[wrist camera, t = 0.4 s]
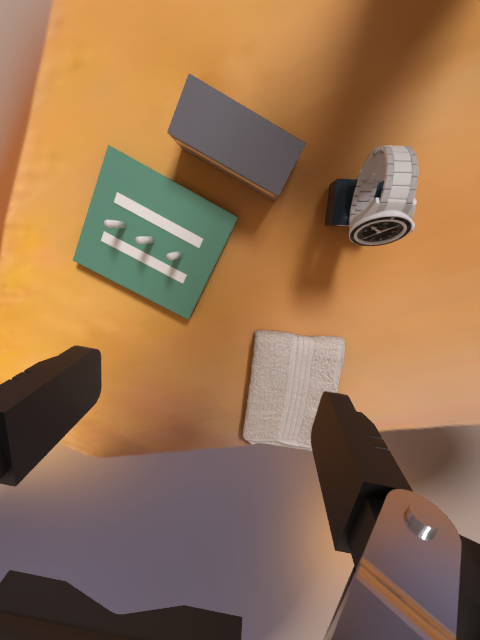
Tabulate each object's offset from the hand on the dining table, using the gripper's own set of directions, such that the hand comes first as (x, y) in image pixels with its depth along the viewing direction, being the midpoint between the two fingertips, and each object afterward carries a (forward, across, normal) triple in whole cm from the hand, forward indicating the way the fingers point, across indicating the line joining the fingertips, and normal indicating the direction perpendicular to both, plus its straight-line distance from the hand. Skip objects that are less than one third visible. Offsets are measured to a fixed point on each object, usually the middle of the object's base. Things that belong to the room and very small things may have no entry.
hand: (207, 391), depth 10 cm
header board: (+26, +12, -2) cm, 28 cm away
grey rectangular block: (+26, +3, -13) cm, 29 cm away
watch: (+26, -11, -10) cm, 30 cm away
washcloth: (+26, -9, +15) cm, 31 cm away
